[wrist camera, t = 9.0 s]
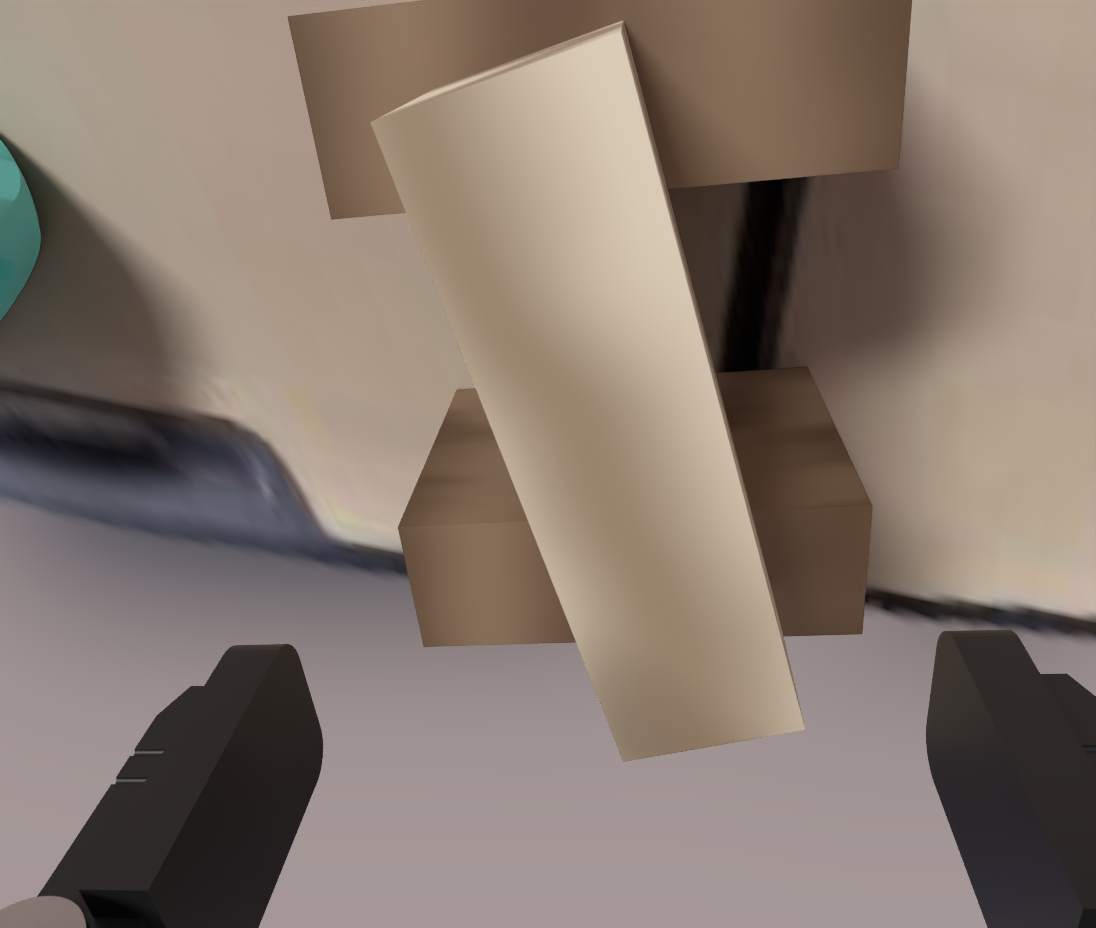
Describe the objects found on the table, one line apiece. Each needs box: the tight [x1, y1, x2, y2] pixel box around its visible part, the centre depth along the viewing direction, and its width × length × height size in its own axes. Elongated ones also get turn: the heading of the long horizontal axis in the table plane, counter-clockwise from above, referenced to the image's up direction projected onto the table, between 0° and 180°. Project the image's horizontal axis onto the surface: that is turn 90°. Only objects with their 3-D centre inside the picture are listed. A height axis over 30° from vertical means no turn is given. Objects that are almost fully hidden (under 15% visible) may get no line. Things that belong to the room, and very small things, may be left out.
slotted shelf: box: [288, 0, 912, 647], centre depth 24 cm, size 12×16×9 cm
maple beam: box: [370, 21, 805, 762], centre depth 18 cm, size 4×14×5 cm, turn 18°
